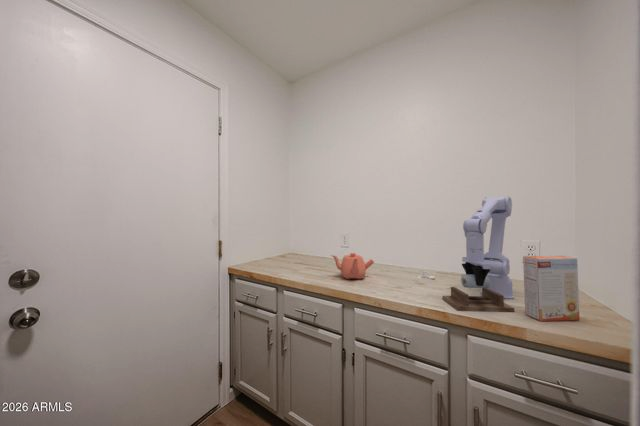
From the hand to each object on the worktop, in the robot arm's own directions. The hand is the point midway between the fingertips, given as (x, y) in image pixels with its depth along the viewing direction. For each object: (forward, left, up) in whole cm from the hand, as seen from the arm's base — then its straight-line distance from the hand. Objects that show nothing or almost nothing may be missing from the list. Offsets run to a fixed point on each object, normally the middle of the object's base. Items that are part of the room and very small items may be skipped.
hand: (475, 283), depth 91 cm
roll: (0, 0, -2) cm, 2 cm away
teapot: (+45, -39, -9) cm, 60 cm away
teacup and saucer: (+4, -38, -9) cm, 39 cm away
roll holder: (0, 0, -8) cm, 8 cm away
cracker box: (-19, +10, -9) cm, 23 cm away
